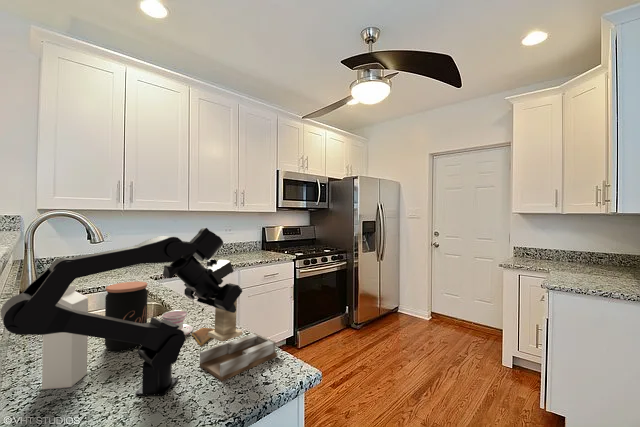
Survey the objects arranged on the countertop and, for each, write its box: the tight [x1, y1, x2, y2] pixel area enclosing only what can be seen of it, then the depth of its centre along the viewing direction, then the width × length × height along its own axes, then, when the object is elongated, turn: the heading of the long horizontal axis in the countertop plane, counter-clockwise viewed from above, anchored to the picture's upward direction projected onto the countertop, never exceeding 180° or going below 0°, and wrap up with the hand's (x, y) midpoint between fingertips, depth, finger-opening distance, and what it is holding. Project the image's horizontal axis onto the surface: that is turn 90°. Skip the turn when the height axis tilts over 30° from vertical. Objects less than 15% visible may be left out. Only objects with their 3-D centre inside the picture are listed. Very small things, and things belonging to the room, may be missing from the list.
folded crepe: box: [191, 327, 215, 347], centre depth 96 cm, size 11×8×2 cm
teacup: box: [161, 309, 194, 336], centre depth 101 cm, size 12×12×6 cm
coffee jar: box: [104, 281, 148, 353], centre depth 90 cm, size 11×11×18 cm
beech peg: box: [208, 299, 243, 343], centre depth 82 cm, size 6×6×13 cm
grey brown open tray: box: [199, 332, 278, 382], centre depth 81 cm, size 17×11×4 cm, turn 139°
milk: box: [41, 284, 89, 390], centre depth 70 cm, size 6×6×22 cm
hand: (230, 309), depth 83 cm, fingers closed on beech peg, 4 cm apart
